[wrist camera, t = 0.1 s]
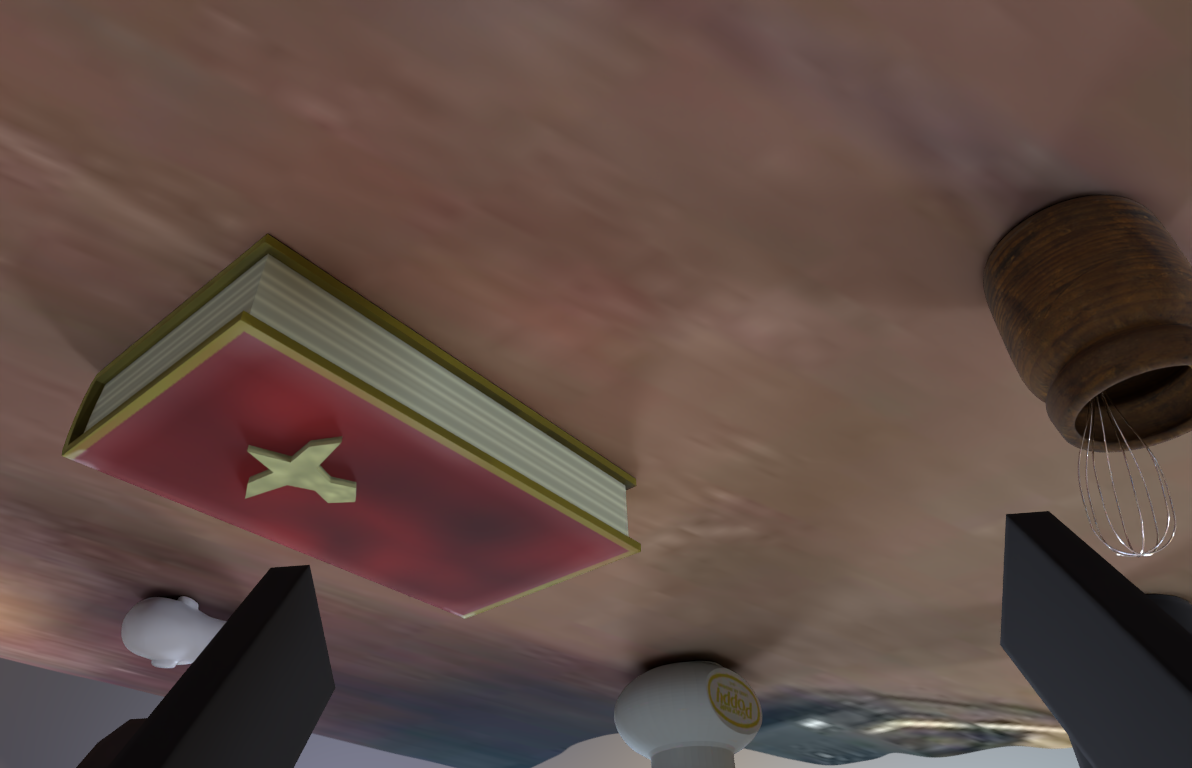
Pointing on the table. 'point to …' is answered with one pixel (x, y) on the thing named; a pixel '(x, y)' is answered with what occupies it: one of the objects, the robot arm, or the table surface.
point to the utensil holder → (1099, 327)
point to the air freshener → (688, 715)
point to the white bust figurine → (168, 630)
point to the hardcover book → (350, 441)
